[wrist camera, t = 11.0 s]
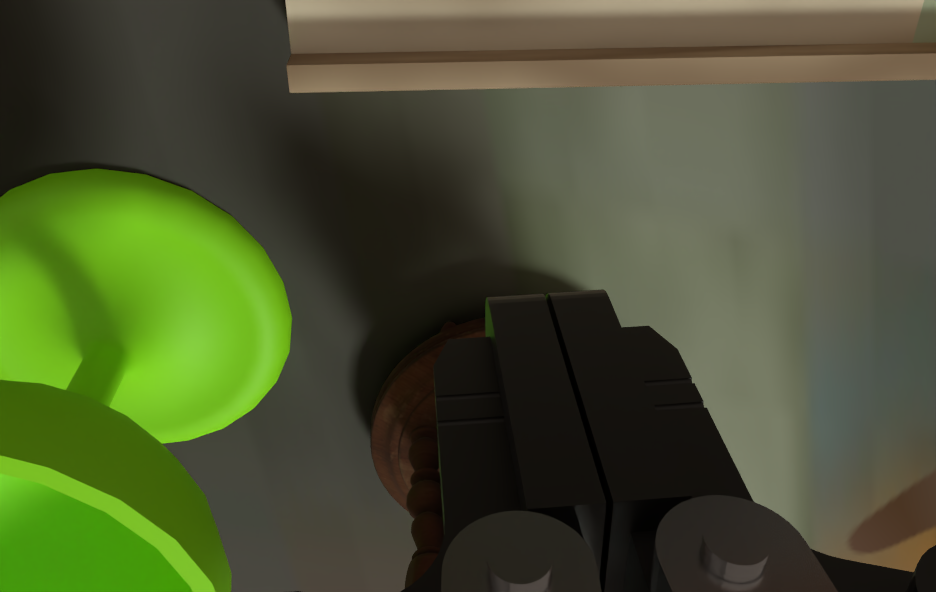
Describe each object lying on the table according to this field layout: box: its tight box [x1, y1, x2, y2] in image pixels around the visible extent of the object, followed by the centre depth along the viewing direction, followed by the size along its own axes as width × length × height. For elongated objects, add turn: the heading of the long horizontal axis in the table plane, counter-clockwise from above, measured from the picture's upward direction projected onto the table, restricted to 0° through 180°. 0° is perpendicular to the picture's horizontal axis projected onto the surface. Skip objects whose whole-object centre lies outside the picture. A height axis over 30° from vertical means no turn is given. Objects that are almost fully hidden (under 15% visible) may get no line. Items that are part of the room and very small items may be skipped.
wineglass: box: [0, 168, 292, 592], centre depth 33 cm, size 16×16×18 cm
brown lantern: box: [371, 318, 486, 588], centre depth 37 cm, size 15×15×20 cm
